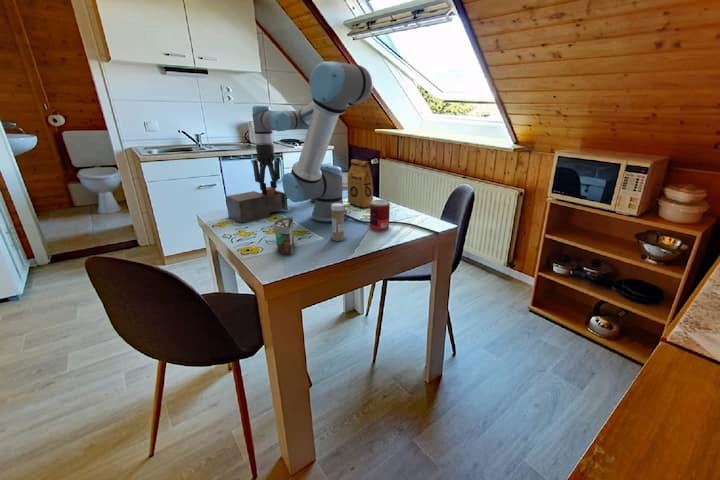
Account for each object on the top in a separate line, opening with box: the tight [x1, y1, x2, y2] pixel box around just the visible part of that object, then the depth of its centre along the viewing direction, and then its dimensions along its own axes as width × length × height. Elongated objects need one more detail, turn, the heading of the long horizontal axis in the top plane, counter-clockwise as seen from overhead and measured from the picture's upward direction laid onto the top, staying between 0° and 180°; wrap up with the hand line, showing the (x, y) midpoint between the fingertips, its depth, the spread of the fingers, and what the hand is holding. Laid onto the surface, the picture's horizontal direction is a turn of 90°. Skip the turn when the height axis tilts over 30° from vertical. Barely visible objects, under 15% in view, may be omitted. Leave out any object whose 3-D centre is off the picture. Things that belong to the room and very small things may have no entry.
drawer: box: [260, 190, 290, 214], centre depth 161 cm, size 18×10×8 cm, turn 136°
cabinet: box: [225, 190, 271, 224], centre depth 152 cm, size 14×12×10 cm
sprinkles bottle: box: [331, 203, 345, 242], centre depth 126 cm, size 5×5×13 cm
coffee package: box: [347, 159, 374, 209], centre depth 169 cm, size 10×12×22 cm
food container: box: [272, 216, 295, 256], centre depth 117 cm, size 12×6×10 cm, turn 5°
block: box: [266, 186, 276, 197], centre depth 158 cm, size 4×4×4 cm
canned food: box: [369, 199, 391, 232], centre depth 138 cm, size 8×8×11 cm
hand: (269, 196), depth 158 cm, fingers closed on block, 4 cm apart
